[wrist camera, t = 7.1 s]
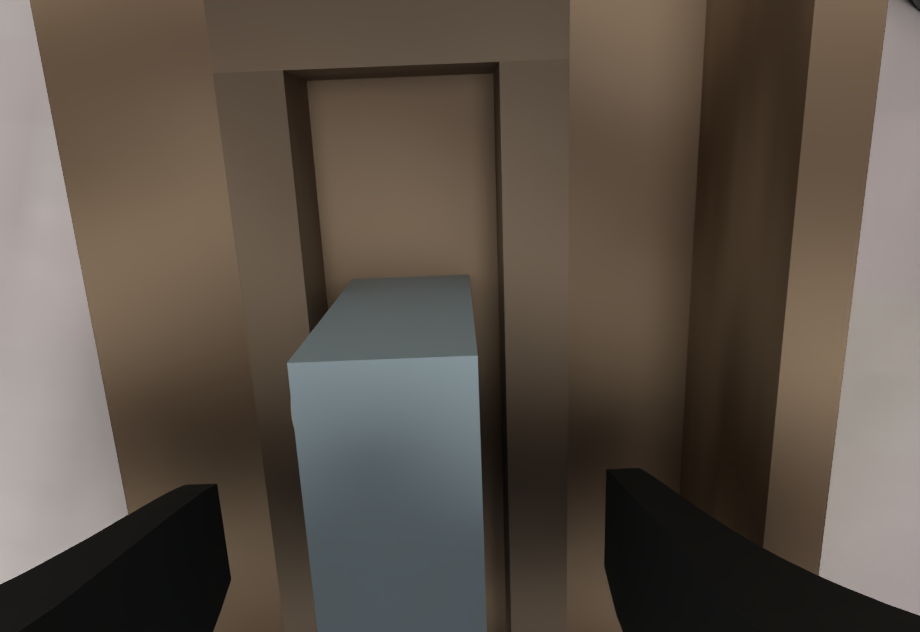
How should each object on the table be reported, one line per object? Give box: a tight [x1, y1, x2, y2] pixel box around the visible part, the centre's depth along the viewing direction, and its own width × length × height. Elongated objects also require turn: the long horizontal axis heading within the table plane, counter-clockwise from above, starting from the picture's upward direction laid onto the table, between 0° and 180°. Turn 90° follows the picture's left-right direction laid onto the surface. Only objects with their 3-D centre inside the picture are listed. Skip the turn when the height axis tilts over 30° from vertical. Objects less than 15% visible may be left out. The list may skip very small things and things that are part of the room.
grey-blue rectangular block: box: [287, 275, 487, 632], centre depth 12 cm, size 8×3×6 cm, turn 2°
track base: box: [30, 0, 888, 632], centre depth 13 cm, size 22×14×5 cm, turn 2°
